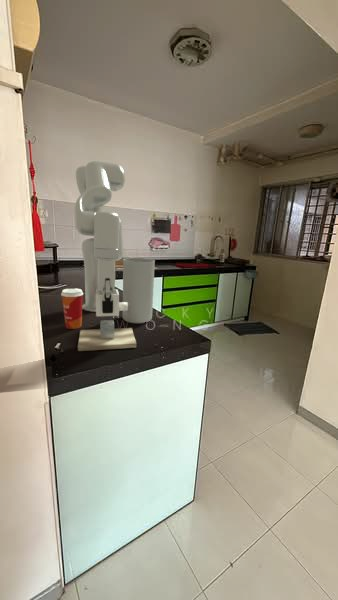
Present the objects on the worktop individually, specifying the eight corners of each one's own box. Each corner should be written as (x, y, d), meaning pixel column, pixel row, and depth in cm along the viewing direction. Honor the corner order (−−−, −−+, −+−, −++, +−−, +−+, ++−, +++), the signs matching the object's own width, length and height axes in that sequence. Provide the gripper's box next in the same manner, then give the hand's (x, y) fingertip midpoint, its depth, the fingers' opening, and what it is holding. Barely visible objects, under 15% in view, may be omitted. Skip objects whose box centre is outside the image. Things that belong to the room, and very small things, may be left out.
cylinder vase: (126, 325, 100) (127, 262, 93) (119, 314, 111) (120, 257, 104) (155, 322, 105) (159, 262, 98) (147, 312, 116) (149, 258, 109)
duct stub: (100, 334, 87) (100, 320, 86) (113, 333, 88) (113, 320, 87) (100, 339, 83) (100, 325, 82) (114, 338, 84) (114, 324, 83)
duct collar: (96, 309, 85) (96, 289, 84) (126, 308, 88) (126, 289, 86) (96, 316, 79) (95, 294, 77) (128, 315, 81) (128, 294, 80)
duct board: (80, 333, 90) (80, 330, 89) (131, 331, 95) (131, 327, 94) (77, 351, 78) (77, 346, 77) (136, 347, 83) (136, 343, 82)
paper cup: (62, 323, 98) (60, 288, 94) (83, 321, 101) (82, 287, 97) (63, 331, 91) (60, 293, 87) (85, 329, 94) (84, 292, 90)
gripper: (94, 251, 85) (95, 302, 90) (93, 256, 69) (94, 318, 74) (117, 252, 87) (117, 301, 92) (121, 257, 71) (121, 317, 76)
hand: (107, 308), depth 83 cm, fingers closed on duct collar, 7 cm apart
